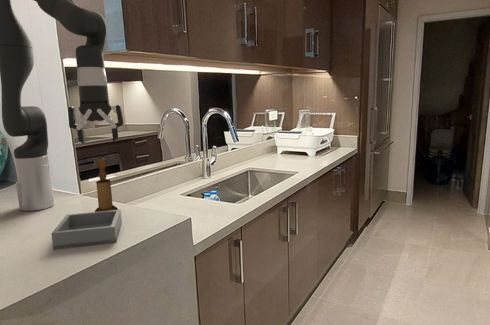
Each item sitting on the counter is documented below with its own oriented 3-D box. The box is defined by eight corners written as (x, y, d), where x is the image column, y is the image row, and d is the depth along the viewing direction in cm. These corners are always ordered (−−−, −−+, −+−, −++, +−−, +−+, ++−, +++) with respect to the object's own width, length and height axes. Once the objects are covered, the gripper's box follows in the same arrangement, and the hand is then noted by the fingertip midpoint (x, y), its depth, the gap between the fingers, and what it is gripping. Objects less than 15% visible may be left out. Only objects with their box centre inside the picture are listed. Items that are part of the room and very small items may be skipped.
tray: (53, 249, 81) (51, 233, 80) (68, 228, 95) (66, 214, 94) (116, 242, 84) (114, 226, 84) (121, 222, 98) (120, 209, 97)
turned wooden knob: (110, 221, 99) (103, 160, 96) (90, 220, 101) (83, 160, 98) (122, 213, 106) (117, 156, 103) (103, 212, 107) (97, 156, 104)
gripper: (121, 85, 102) (126, 139, 104) (68, 85, 98) (75, 142, 101) (118, 83, 94) (123, 142, 97) (61, 84, 91) (69, 145, 94)
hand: (99, 142), depth 99 cm, fingers open, 8 cm apart
